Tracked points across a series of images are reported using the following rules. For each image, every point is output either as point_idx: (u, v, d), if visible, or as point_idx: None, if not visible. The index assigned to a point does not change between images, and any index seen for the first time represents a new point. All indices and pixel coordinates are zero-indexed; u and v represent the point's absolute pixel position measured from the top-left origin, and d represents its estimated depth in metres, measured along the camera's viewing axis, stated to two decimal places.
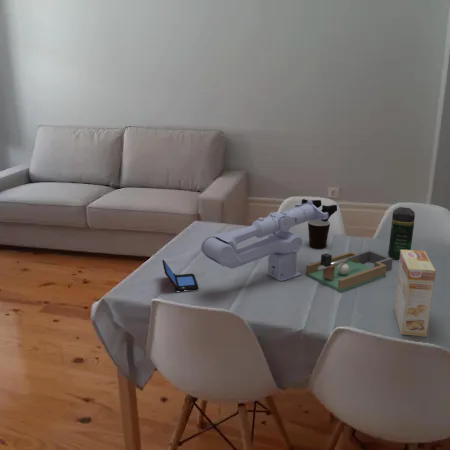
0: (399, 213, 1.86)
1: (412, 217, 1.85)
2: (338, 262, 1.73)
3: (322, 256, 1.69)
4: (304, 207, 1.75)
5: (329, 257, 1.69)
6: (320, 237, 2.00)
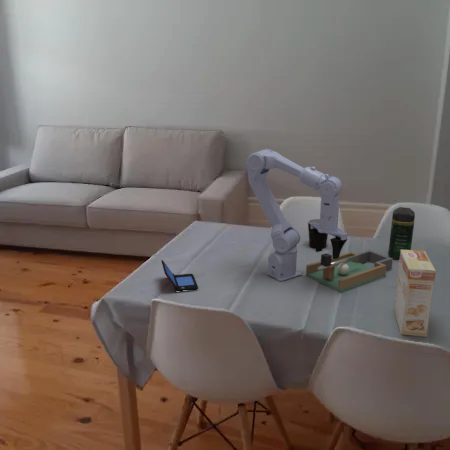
0: (399, 213, 1.86)
1: (412, 217, 1.85)
2: (338, 262, 1.73)
3: (322, 256, 1.69)
4: (320, 219, 1.65)
5: (329, 257, 1.69)
6: None
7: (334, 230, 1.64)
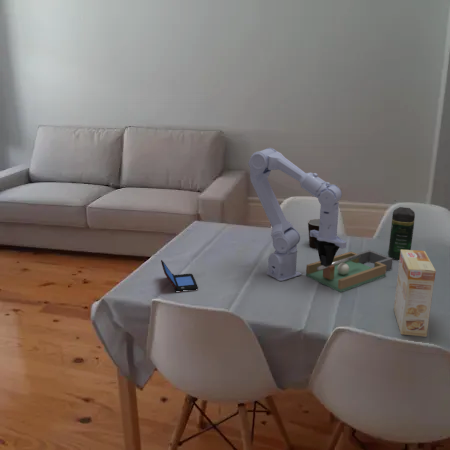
0: (399, 213, 1.86)
1: (412, 217, 1.85)
2: (338, 262, 1.73)
3: (322, 256, 1.69)
4: (320, 227, 1.66)
5: None
6: None
7: (333, 238, 1.65)
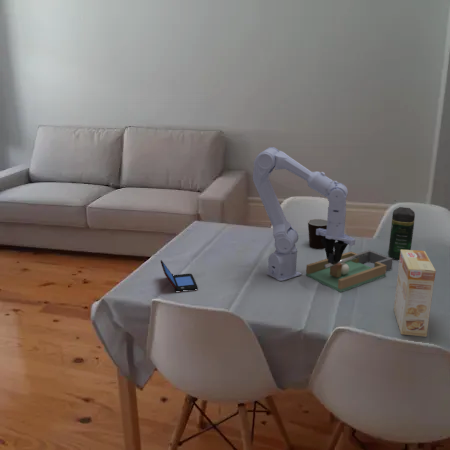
0: (399, 213, 1.86)
1: (412, 217, 1.85)
2: (345, 260, 1.75)
3: (329, 254, 1.71)
4: (328, 226, 1.67)
5: None
6: (320, 237, 2.00)
7: (341, 236, 1.67)
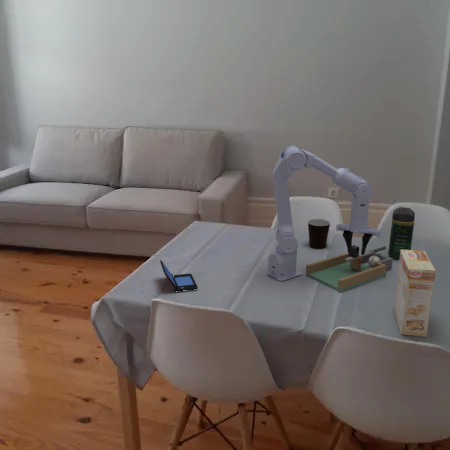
0: (399, 213, 1.86)
1: (412, 217, 1.85)
2: (365, 254, 1.80)
3: (350, 248, 1.76)
4: (353, 220, 1.72)
5: (357, 249, 1.76)
6: (320, 237, 2.00)
7: (366, 228, 1.73)
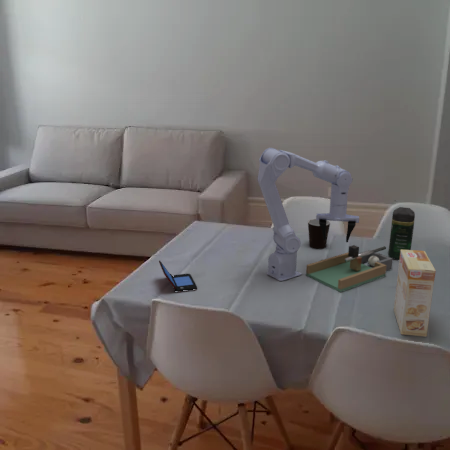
0: (399, 213, 1.86)
1: (412, 217, 1.85)
2: (364, 254, 1.80)
3: (350, 248, 1.76)
4: (335, 209, 1.75)
5: (357, 249, 1.76)
6: (320, 237, 2.00)
7: (346, 216, 1.78)
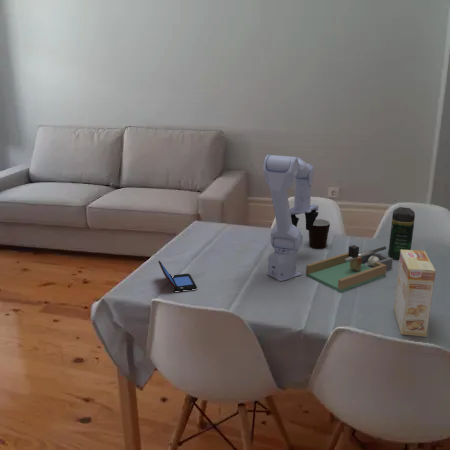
0: (399, 213, 1.86)
1: (412, 217, 1.85)
2: (364, 254, 1.80)
3: (350, 248, 1.76)
4: (305, 202, 1.83)
5: (357, 249, 1.76)
6: (320, 237, 2.00)
7: None
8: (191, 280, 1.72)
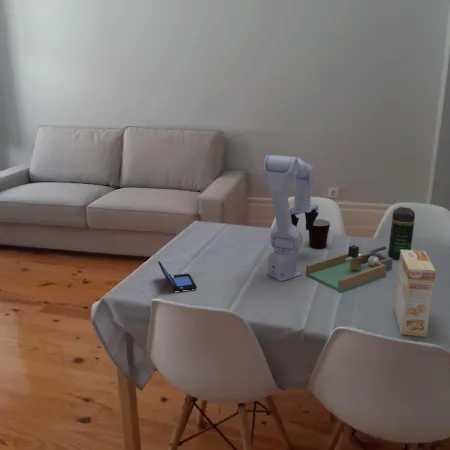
0: (399, 213, 1.86)
1: (412, 217, 1.85)
2: (364, 254, 1.80)
3: (350, 248, 1.76)
4: (305, 202, 1.83)
5: (357, 249, 1.76)
6: (320, 237, 2.00)
7: None
8: (191, 280, 1.72)
